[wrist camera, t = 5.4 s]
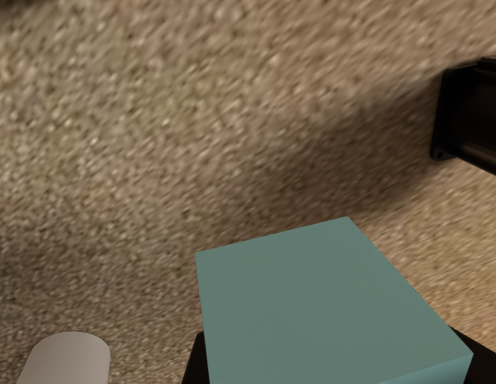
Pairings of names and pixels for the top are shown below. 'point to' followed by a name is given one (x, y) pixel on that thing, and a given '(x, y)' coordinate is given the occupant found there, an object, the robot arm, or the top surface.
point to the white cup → (67, 360)
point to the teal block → (320, 314)
